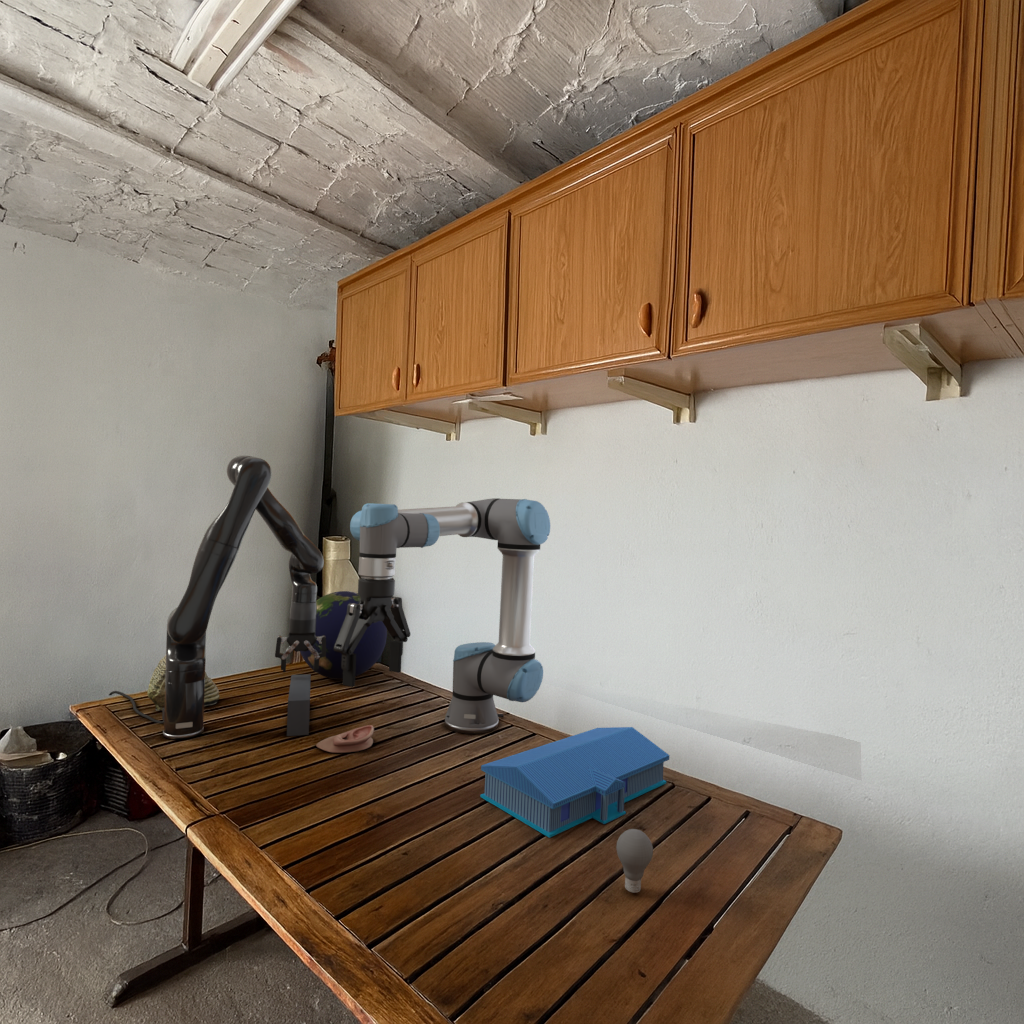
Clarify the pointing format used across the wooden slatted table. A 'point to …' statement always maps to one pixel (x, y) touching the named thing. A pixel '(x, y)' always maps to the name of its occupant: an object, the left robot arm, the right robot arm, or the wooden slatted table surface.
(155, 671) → the fossil
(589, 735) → the model building
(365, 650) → the globe
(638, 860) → the light bulb
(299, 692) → the bar
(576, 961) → the wooden slatted table surface
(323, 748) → the anatomical model
